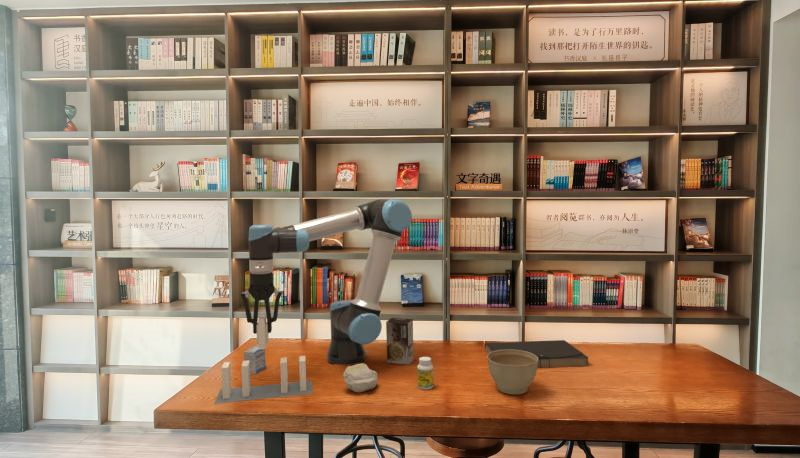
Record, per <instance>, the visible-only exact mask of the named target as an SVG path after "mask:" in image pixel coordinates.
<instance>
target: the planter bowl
mask: <svg viewBox="0 0 800 458" xmlns="http://www.w3.org/2000/svg"><path fill="white" fill-rule="evenodd" d="M486 357H487V358H486V360H487V365H488V370H489V373H490V375H491V377H492V380H493V382H494V383H495V384H496V387H497V389H498V390H499V391H500V392H501V393H504V394H507V395H523V394H525V393H527V392H528V390H529V387H530V386H531V385H532V383H533V381H534V379H535V378H536V375H537V372H538V367H537V363H538V357H537V356H536V355H534V354H532V353H529V352H526V351H521V350H510V349H509V350H497V351H493V352H491V353H488V354H487V356H486Z"/></svg>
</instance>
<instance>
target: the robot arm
mask: <svg viewBox="0 0 800 458" xmlns="http://www.w3.org/2000/svg"><path fill="white" fill-rule="evenodd" d="M412 219H413V215H412V210H411V209H410V207H409V205H408V204H407V203H406V202H404V201H403V200H402V199H401V200H400V199H395V198H391V199H389V198H387V199H385V198H384V199H382V198H381V199H375V200H373V201H368V202H366V203H364V204H363V203H362V204H359V205H357V206H354V207H353V208H352V210H346V211H342V212H339V213H336V214H335V213H334V214H331V215H327V216H323V217H319V218H315V219H310V220H306V221H302V222H299V223H294V224H291V225H287V226H283V227H279V226H278V227H274V228H273V226H272V225H271V224H253V225H251V226H249V229H248V239H247V240H248V256H249V257H248V260H249V261H248V262H249V263H248V264H249V265H248V266H249V269H248V271H249V272H250V273H249V274H248V275H249V286H248V289H247V290H246V291H244V292H243V291H242V292H241V294H240V297H241V299H242V300H243V304H244V310H245V311H244V312H245V316H246V317H245V318H246V322H247V323H250V324H252V332H253V334H255V335H256V345H259V334H258V319H259V308H260V301H263V302H264V307H265V315H266V323H265V344H267V345H268V344H269V340H270V339H269V334H271V333H272V328H273V327H272V326H273V325H272V323H274V322H277V320H278V315H279V308H280V307H279V306H280V300H281V297H282V295H283V291H282V290H277V289H276V287H275V285H274V284H275V283H274V272H273V271H274V254H280V253H281V254H282V253H301V252H307V251H308V250H309V247H310V242H312V241H313V242H314V241H316V240H321V239H324V238H327V237H332V236H335V235H339V234H343V233H346V232H350V231H355V230H359V231H364V230H369V229H370V231H371V233H372V235H373V236H372V241H371V244H370V248H369V251H368V254H367V257H366V263H365V265H364V268H363V271H362V276H361V279H360V283H359V287H358V290H357V294H356V297H355V298H354V299H346V300H337V301H334V302H332V303H330V306H329V307H330V310H329V313H330V314H329V315H330V337H331V338H330V342H329V347H328V350H327V352H326V353H327V354H326V359H327V362H328V363H329V364H333V365H356V364H361V363H362V362H363V361H365V360H366V358H367V357H366V356H367V355H366V350H365V349H366V348H365V346H364V345H369V344H371V343H372V342H374V341H376V340H377V339H378V338H379V336H380V334H381V333H382V332H381V331H382V325H383V324H382V322H381V319H380V315H381V312H382V309H381V307H380V305H379V303H380V299H381V296H382V292H383V289H384V286H385V281H386V278H387V274H388V271H389V267H390V264H391V262H392V261H391V260H392V257H393V252H394V249H395V245H396V243H397V242H398V241H400V240H401V239H402V236H403V233H404V231H406V230H407V229H408V228H409V227H410V225H411V224H412ZM273 294H274V297H275V298H274V299H275V300H274V308H273V315H272V311H271V304H270V299H271V297H272V296H273ZM250 296H251V297H252V299H254V302H253V303H254V304H253V306H254V307H253V314H252V311H251V306H250V299H249V297H250ZM252 315H253V317H252Z"/></svg>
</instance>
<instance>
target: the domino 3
mask: <svg viewBox="0 0 800 458" xmlns="http://www.w3.org/2000/svg"><path fill="white" fill-rule="evenodd" d="M266 322H267V316H266V314H264V315H263V314H262V315H261V314H260V315H259V316H258V321H257V323H258V334H259V344H258V345H259V350H261V349H265V350H266V349H267V345H268V344H265V323H266Z"/></svg>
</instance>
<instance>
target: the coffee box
mask: <svg viewBox="0 0 800 458" xmlns="http://www.w3.org/2000/svg"><path fill="white" fill-rule="evenodd" d="M413 323H414V322H413V318H403V317H402V318H400V317H399V318H398V317H391V318H389V319H388V320H387V321H385V330H386V331H385V332H386V333H385V334H386V363H387V364H400V365H408V366H409V365H410V364H411V363H412V362H413V361H414V326H413V325H414V324H413Z"/></svg>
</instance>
